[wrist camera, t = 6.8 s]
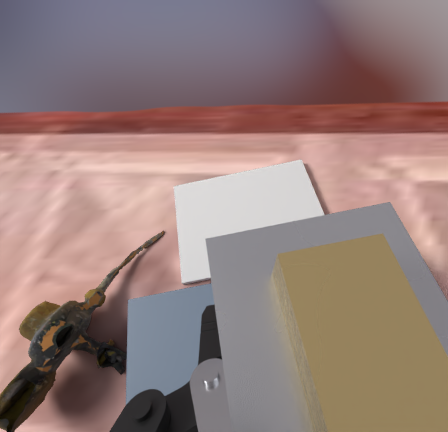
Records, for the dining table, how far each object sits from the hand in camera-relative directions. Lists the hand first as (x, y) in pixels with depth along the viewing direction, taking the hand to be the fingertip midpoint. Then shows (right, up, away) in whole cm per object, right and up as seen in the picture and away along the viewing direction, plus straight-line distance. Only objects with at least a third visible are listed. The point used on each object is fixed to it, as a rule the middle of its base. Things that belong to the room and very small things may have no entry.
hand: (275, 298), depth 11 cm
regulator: (-12, -4, +8) cm, 15 cm away
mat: (0, +4, +9) cm, 10 cm away
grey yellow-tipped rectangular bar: (+1, -4, +4) cm, 6 cm away
